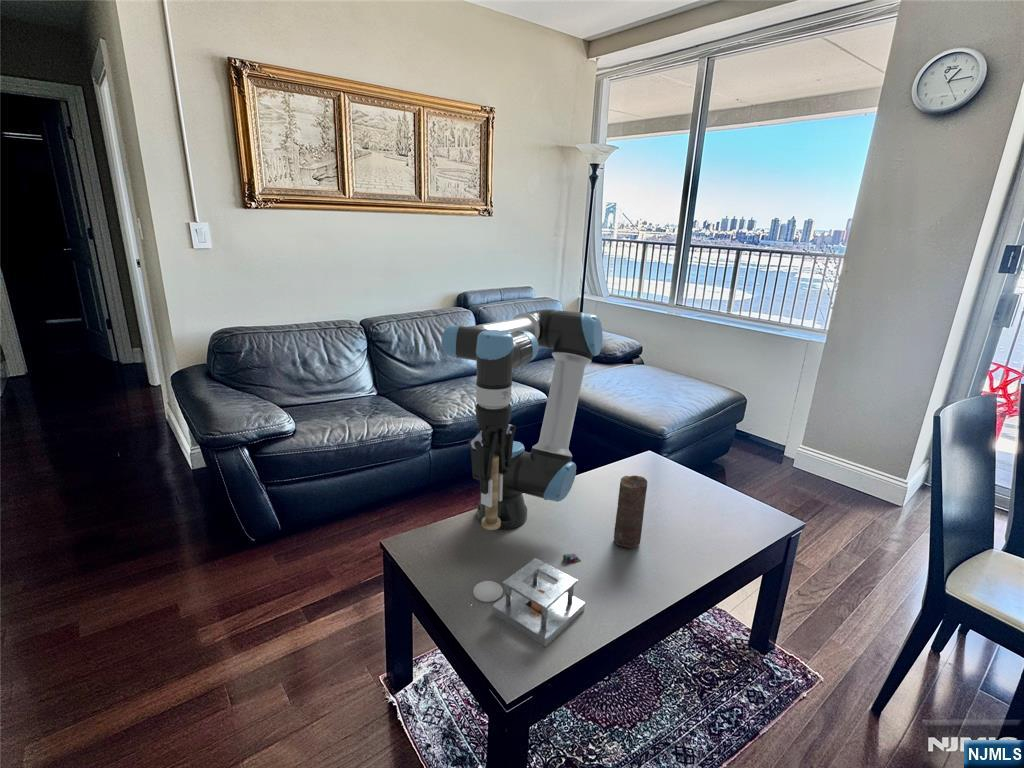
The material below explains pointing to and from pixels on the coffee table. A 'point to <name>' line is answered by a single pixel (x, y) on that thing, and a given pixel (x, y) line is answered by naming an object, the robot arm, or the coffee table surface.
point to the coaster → (488, 591)
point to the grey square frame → (539, 602)
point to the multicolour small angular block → (571, 558)
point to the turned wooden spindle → (493, 499)
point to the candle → (630, 511)
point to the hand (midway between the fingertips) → (491, 501)
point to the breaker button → (535, 606)
